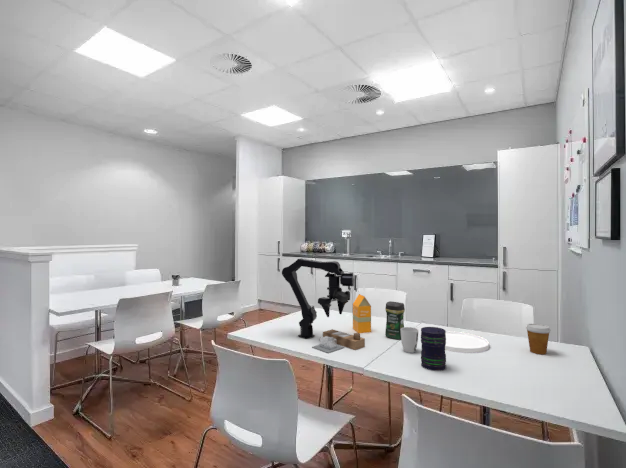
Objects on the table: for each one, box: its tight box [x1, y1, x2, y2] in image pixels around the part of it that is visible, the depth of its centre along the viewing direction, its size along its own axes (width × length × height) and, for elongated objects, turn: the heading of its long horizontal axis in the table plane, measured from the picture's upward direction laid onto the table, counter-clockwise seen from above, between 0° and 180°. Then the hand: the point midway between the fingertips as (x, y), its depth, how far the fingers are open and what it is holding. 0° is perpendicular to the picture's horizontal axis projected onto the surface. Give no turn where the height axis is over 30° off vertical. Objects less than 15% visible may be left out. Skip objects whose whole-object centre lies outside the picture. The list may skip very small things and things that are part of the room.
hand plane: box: [322, 328, 366, 351], centre depth 176 cm, size 22×7×6 cm, turn 42°
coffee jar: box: [384, 301, 405, 340], centre depth 185 cm, size 10×8×19 cm
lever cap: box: [319, 336, 338, 350], centre depth 169 cm, size 7×4×5 cm, turn 42°
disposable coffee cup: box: [525, 323, 551, 355], centre depth 161 cm, size 10×10×12 cm
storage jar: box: [420, 326, 447, 372], centre depth 145 cm, size 10×10×15 cm
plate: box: [445, 330, 490, 354], centre depth 174 cm, size 28×28×2 cm
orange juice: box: [352, 293, 372, 334], centre depth 198 cm, size 8×9×20 cm
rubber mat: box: [311, 344, 345, 354], centre depth 169 cm, size 11×11×1 cm
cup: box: [400, 326, 419, 354], centre depth 163 cm, size 8×8×10 cm
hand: (334, 315), depth 183 cm, fingers open, 9 cm apart
